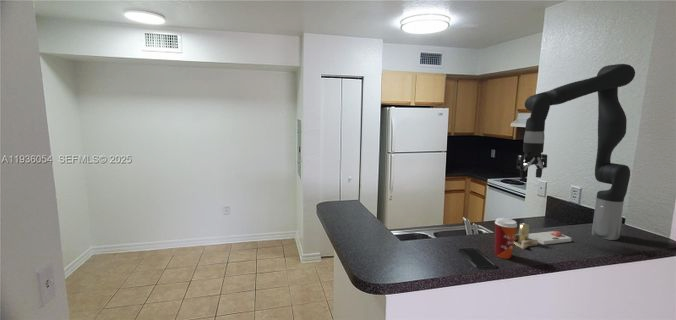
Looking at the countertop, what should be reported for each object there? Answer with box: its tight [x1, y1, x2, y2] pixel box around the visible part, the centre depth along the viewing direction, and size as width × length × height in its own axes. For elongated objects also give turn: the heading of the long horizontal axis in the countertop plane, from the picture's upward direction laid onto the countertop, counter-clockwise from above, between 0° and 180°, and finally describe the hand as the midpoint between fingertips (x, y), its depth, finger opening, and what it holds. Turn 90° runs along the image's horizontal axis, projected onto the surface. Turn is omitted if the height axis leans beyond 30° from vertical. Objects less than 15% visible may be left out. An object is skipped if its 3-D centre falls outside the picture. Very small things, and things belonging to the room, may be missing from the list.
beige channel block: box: [514, 233, 539, 250], centre depth 131 cm, size 7×8×3 cm
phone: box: [458, 247, 498, 270], centre depth 117 cm, size 8×1×15 cm
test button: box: [553, 230, 563, 237], centre depth 135 cm, size 3×3×4 cm
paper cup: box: [494, 217, 518, 260], centre depth 119 cm, size 8×8×14 cm
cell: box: [517, 222, 531, 244], centre depth 130 cm, size 4×4×8 cm
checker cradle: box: [528, 230, 572, 245], centre depth 134 cm, size 14×8×3 cm, turn 104°
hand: (530, 178), depth 138 cm, fingers open, 8 cm apart
